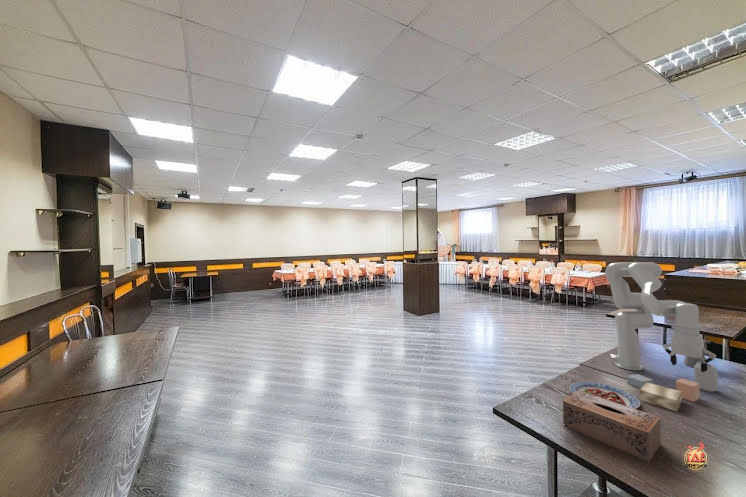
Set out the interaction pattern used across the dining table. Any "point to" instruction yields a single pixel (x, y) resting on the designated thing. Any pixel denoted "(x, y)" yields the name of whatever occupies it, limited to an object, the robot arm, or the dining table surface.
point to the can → (706, 377)
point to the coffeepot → (692, 361)
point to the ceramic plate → (607, 393)
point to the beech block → (661, 396)
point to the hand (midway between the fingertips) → (688, 367)
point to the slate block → (638, 380)
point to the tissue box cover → (613, 423)
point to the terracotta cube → (688, 389)
